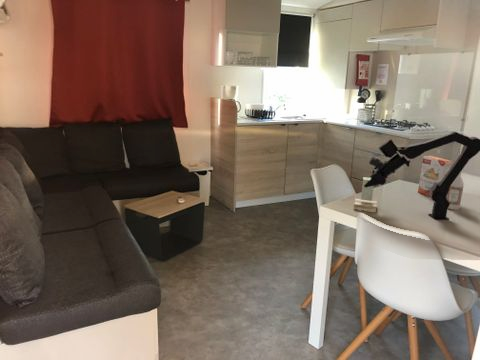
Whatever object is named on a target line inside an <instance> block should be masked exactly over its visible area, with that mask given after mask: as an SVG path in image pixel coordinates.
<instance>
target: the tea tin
mask: <svg viewBox="0 0 480 360" xmlns="http://www.w3.org/2000/svg"><path fill="white" fill-rule="evenodd" d="M362 178H363V179H362V188H361V193H360V194H361V196H360V199H361V200H367V201H373V194H374V189H375V188H374V186H370V187H365V186H364V185H365V184H366V183H367V182H368V181H369V180H370V179H371V178H369V177H367V176H366V177H365V176H363V177H362Z"/></svg>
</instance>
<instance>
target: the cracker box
mask: <svg viewBox="0 0 480 360" xmlns="http://www.w3.org/2000/svg"><path fill="white" fill-rule="evenodd" d="M452 165H453V160H449V159H445V158H443V157H442V158H441V157H437V156H433V155H424V156H423V158H422V163H421V171H420V175H419V176H420V177H419V183H418V189H417V193H419V194H422V195H424V196H428V197H430V198H431V196H430V188H431V187H432V186H433V185H434V183H435V182H437V183H439V182H440V181H441V180H442V179H443V178H444V176H445V175H446V174H447V172H448V171H449V169H450V168H451V167H452Z"/></svg>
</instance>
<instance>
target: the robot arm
mask: <svg viewBox="0 0 480 360" xmlns="http://www.w3.org/2000/svg"><path fill="white" fill-rule="evenodd" d="M454 142H455V143H458V144H460V145H462V148H461V152H460V154H459V156H458V157H457V158H456V160H455V161H454V162H453V163H452V167H451V168H450V169H449V171H448V172H447V174H446V175H445V176H444V178H443V179H442V180H441V181H440V182H439V183H437V182H435V183H434V185H433V186H432V187H431V188H430V196H431V197H430V196H429V197H430V198H431V199H432V201H433V203H432V210H431V213H428V216H429V217H431V218H432V219H434V220H445V221H447V220H450V218H449V217H448V216H447V213H448V210H449V209H448V207H449V205H450V203H449V201H448V200H447V198H446V196H447V194H448V191H449V188H450V186H451V184H452V183H453V182H454V180H455V179H456V178H457V176H458V175H459V173H460V172H461V171H463V170H464V168H465V166H466V165H467V164H468V162H469V161H470V160H471V159H472V158H473V157H475V156H476V155H478V154H479V153H480V138H479V137H476V136H470V137H469V136H467V135H464V134H461V133H459V132H457V131H451V132H450V133H447V134H446V133H445V134H444V135H441V136H438V137H436V138H432V139H429V140H426V141H424V142H417V143H412V144H411V143H410V144H407V145H406V146H399V147H398V146H397V145H396V144H395V143H394V141H393V140H392V138H390V139H389V140H386V141H385V142H383V143H382V144H380V146H378V149H379V151H380V152H381V153H382V154H383V156H384V157H385V158H390V159H388V160H385V161H382V160H381V159H379V158H378V157H375V156H371V158H370V160H369V161H368V163H369V164H370V165H371V166H373V169H372V173H371V175H370V176H369V177H368V178H371V179H370V180H369V181H368V182H367V183H366V184H365V185H364V186H365V187H370V186H379V185H381V186H384V185H385V184H386V182H387V179H388V177H389V176H391V175H392V174H395V173H396V171H397V170H399V169H401V167H403V166H404V165H406V166H407V168H409V167H410V163H411V160H414V159H416V158H418V157H419V156H421V155H423V154H424V153H426V152H427V151H431V150H433V149H436V148H439V147H442V146H446V145H448V144H451V143H454ZM409 159H410V160H409ZM461 173H462V172H461Z"/></svg>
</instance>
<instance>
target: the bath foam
mask: <svg viewBox="0 0 480 360" xmlns="http://www.w3.org/2000/svg"><path fill="white" fill-rule="evenodd" d="M462 171H463V170H462ZM462 171H461V172H460V173H459V175H458V176H457V178H456V179H455V180H454V182H453V183H452V184H451V186H450V188H449V191H448V194H447V196H446V198H447V200H448V201H449V203H450V205H449V207H448V209H447V210H454V211H457V210H459V209H460V207H461V202H462V195H463V191H464V185H465V184H464V181H463V178H462V176H461V175H462Z"/></svg>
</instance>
